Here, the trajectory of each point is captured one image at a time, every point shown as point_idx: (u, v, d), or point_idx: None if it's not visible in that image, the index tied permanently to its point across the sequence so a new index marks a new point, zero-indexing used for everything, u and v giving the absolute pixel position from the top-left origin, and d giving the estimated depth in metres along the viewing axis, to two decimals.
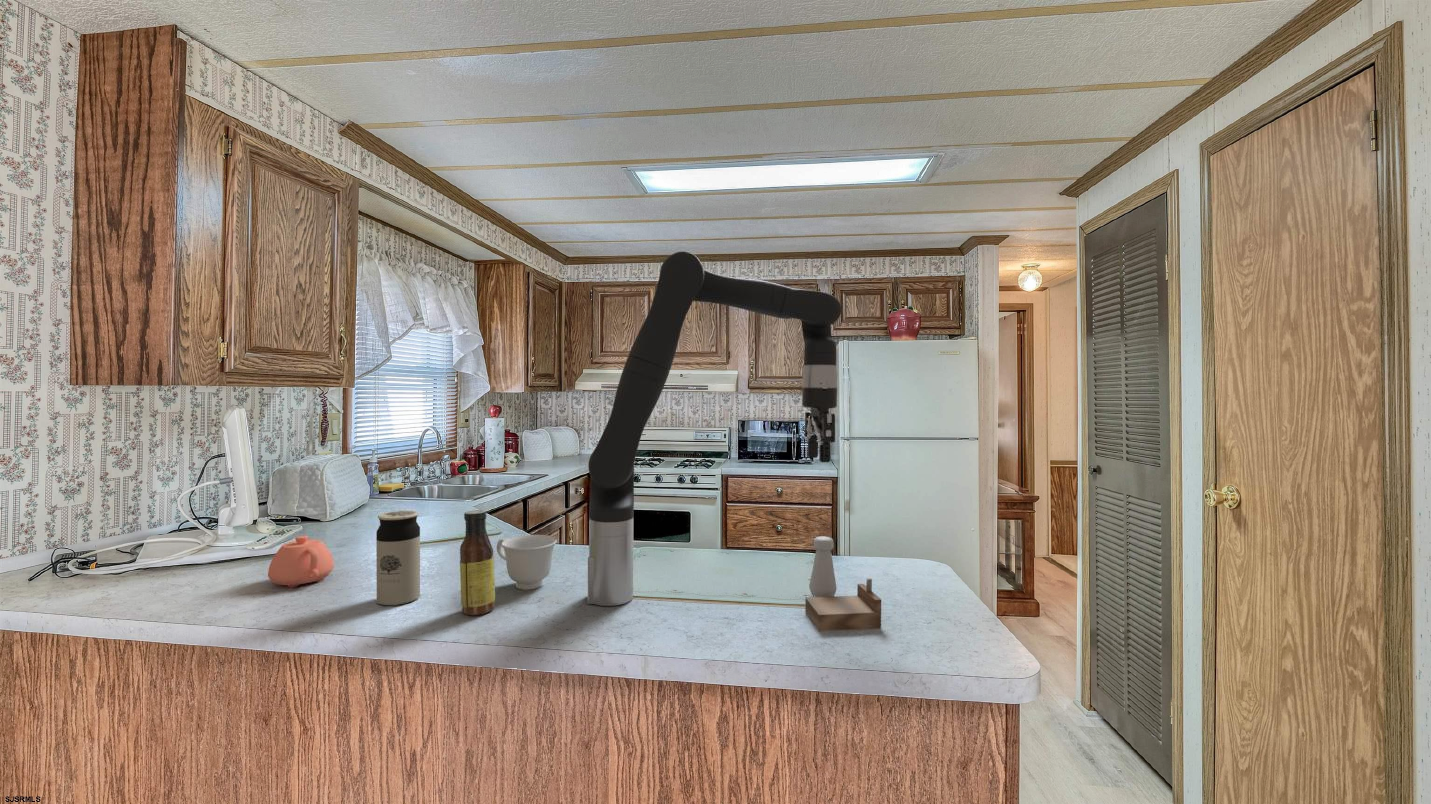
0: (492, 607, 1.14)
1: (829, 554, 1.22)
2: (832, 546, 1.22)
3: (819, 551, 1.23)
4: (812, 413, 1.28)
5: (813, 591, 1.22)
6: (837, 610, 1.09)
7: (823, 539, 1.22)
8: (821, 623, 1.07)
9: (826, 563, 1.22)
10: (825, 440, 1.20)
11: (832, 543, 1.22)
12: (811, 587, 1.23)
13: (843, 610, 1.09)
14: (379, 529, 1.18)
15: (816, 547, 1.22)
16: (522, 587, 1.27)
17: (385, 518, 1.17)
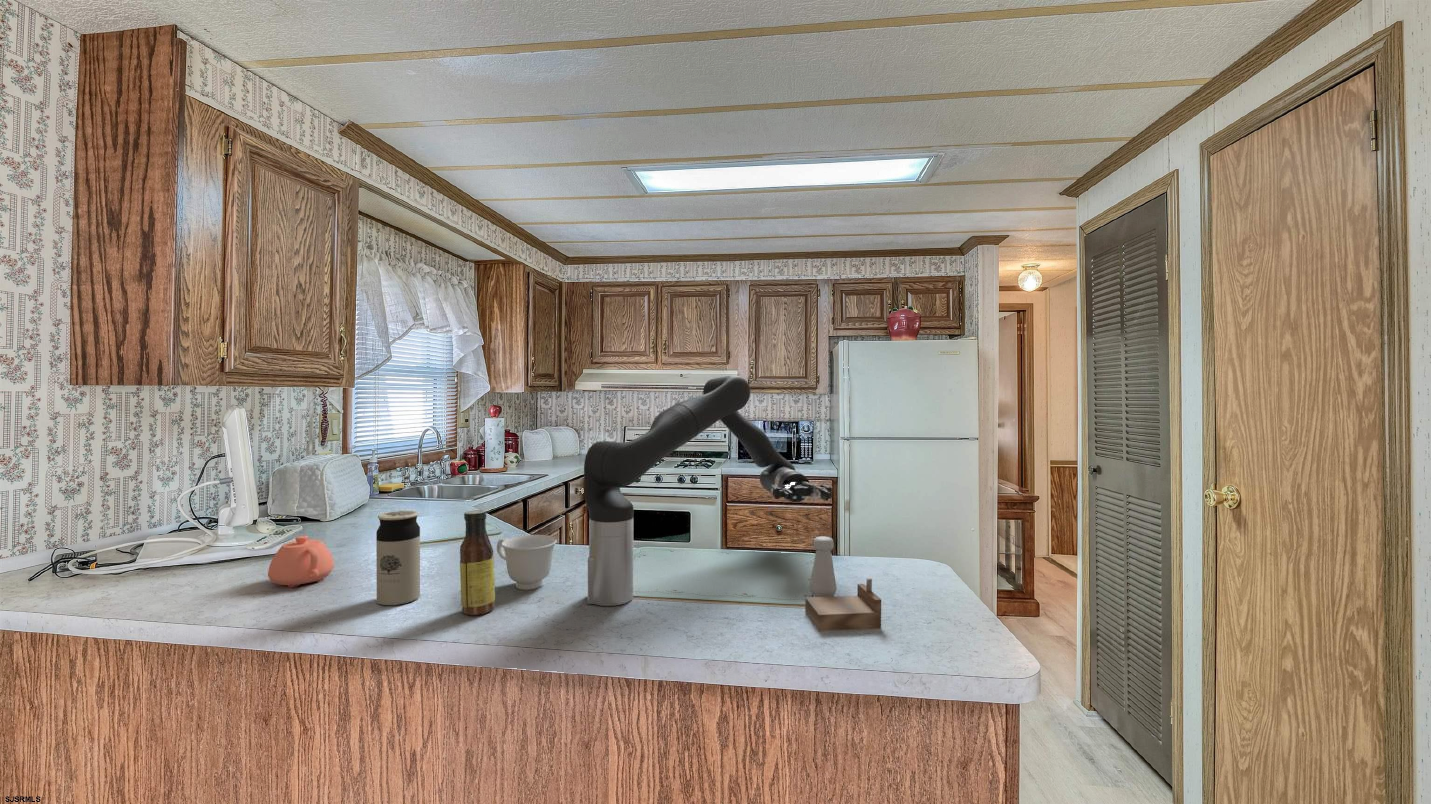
0: (492, 607, 1.14)
1: (829, 554, 1.22)
2: (832, 546, 1.22)
3: (819, 551, 1.23)
4: None
5: (813, 591, 1.22)
6: (837, 610, 1.09)
7: (823, 539, 1.22)
8: (821, 623, 1.07)
9: (826, 563, 1.22)
10: None
11: (832, 543, 1.22)
12: (811, 587, 1.23)
13: (843, 610, 1.09)
14: (379, 529, 1.18)
15: (816, 547, 1.22)
16: (522, 587, 1.27)
17: (385, 518, 1.17)
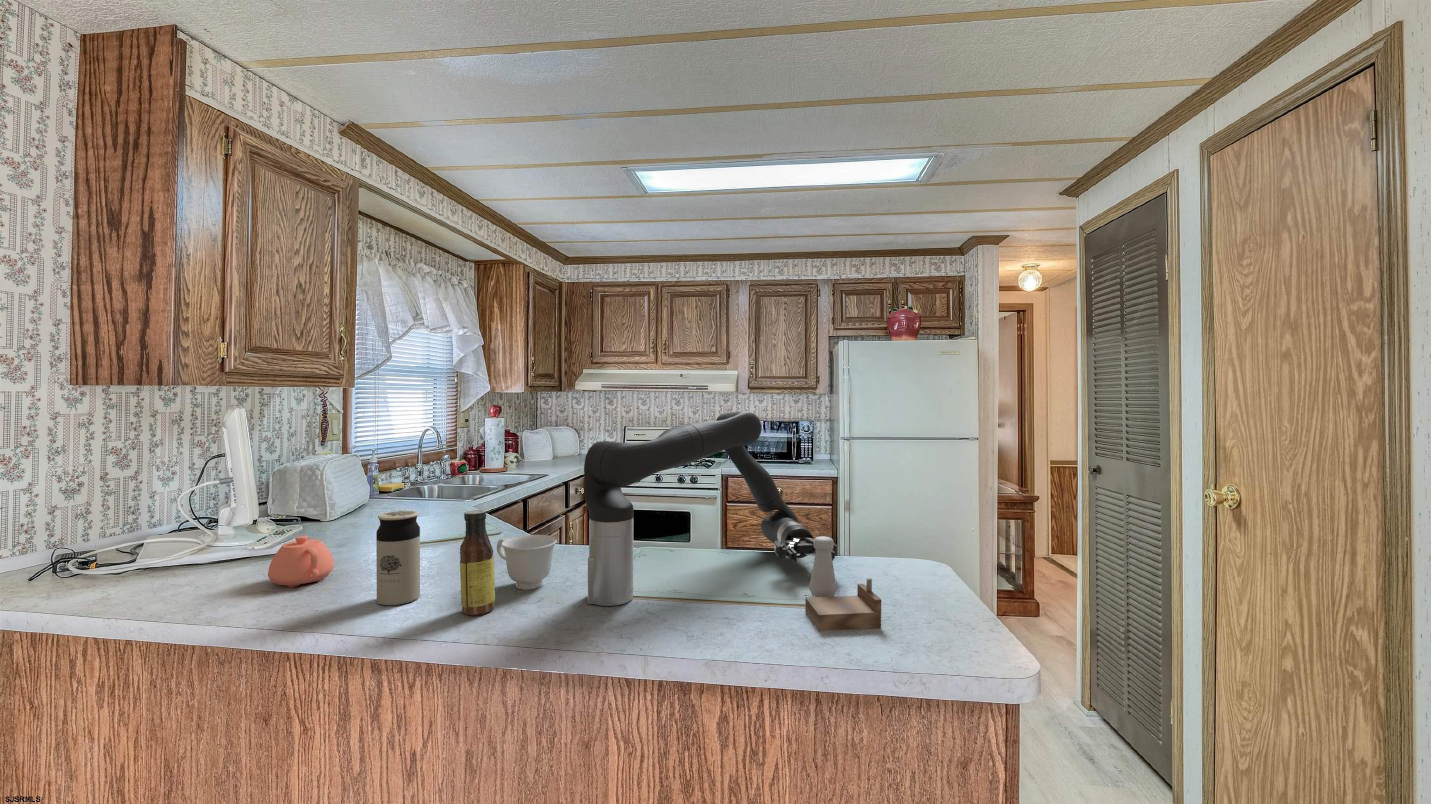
0: (492, 607, 1.14)
1: (829, 554, 1.22)
2: (832, 546, 1.22)
3: (819, 551, 1.23)
4: None
5: (813, 591, 1.22)
6: (837, 610, 1.09)
7: (823, 539, 1.22)
8: (821, 623, 1.07)
9: (826, 563, 1.22)
10: (836, 546, 1.36)
11: (832, 543, 1.22)
12: (811, 587, 1.23)
13: (843, 610, 1.09)
14: (379, 529, 1.18)
15: (816, 547, 1.22)
16: (522, 587, 1.27)
17: (385, 518, 1.17)
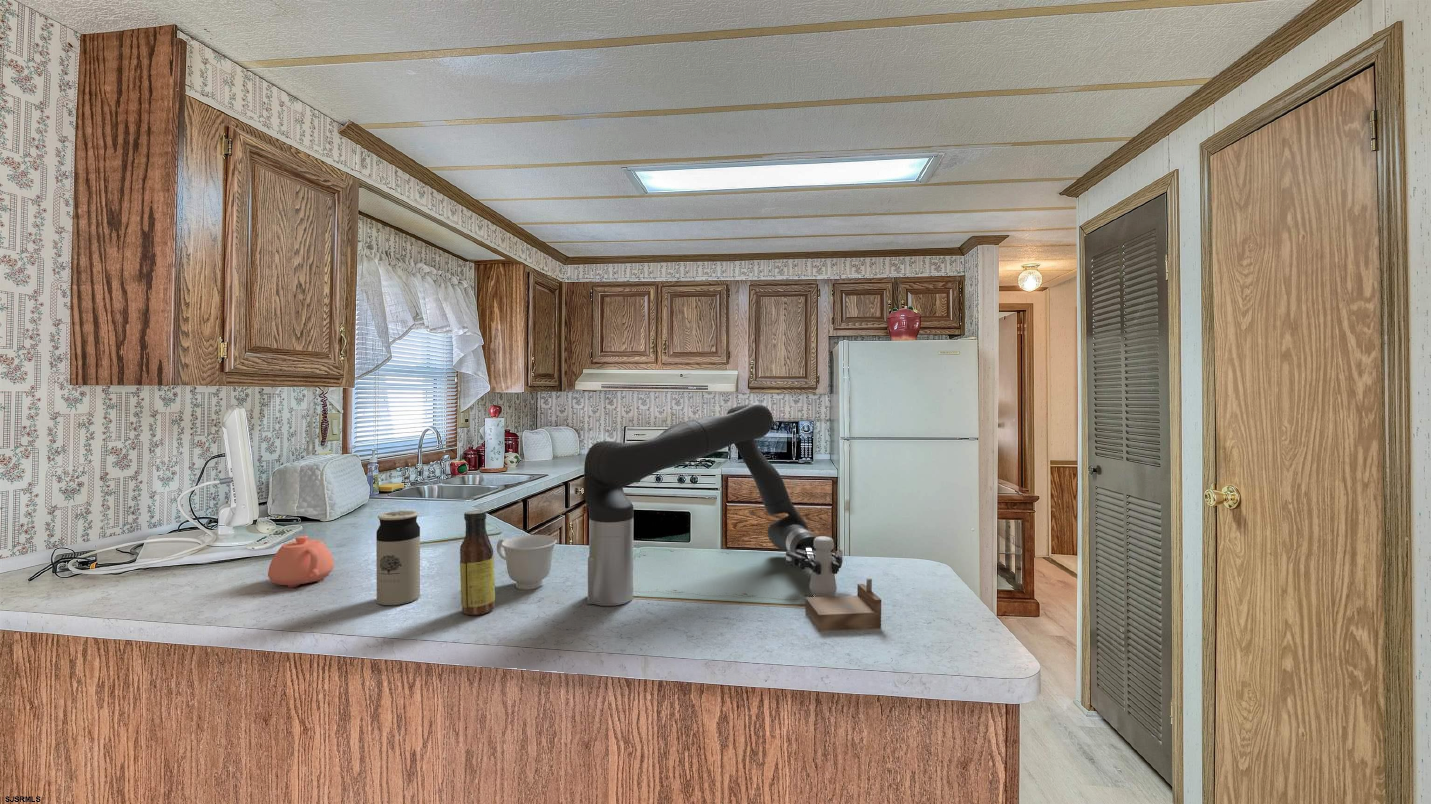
0: (492, 607, 1.14)
1: (829, 554, 1.22)
2: (832, 546, 1.22)
3: (819, 551, 1.23)
4: (805, 549, 1.32)
5: (813, 591, 1.22)
6: (837, 610, 1.09)
7: (823, 539, 1.22)
8: (821, 623, 1.07)
9: (826, 563, 1.22)
10: (840, 558, 1.26)
11: (832, 543, 1.22)
12: (811, 587, 1.23)
13: (843, 610, 1.09)
14: (379, 529, 1.18)
15: (816, 547, 1.22)
16: (522, 587, 1.27)
17: (385, 518, 1.17)
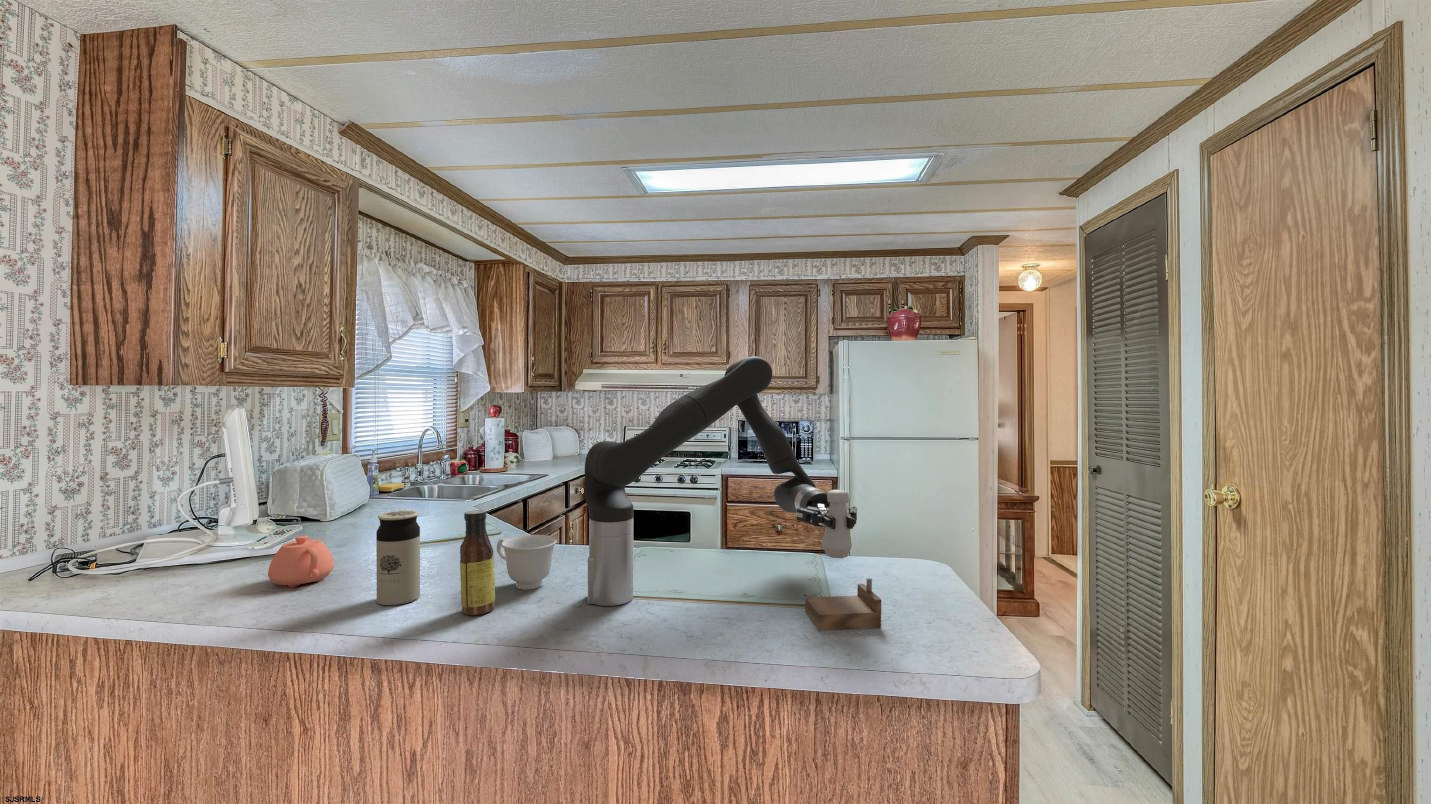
0: (492, 607, 1.14)
1: (844, 508, 1.14)
2: (847, 499, 1.14)
3: (833, 505, 1.14)
4: (817, 506, 1.23)
5: (827, 547, 1.14)
6: (837, 610, 1.09)
7: (838, 492, 1.14)
8: (821, 623, 1.07)
9: (840, 517, 1.13)
10: (855, 514, 1.17)
11: (847, 496, 1.14)
12: (824, 543, 1.14)
13: (843, 610, 1.09)
14: (379, 529, 1.18)
15: (830, 500, 1.14)
16: (522, 587, 1.27)
17: (385, 518, 1.17)
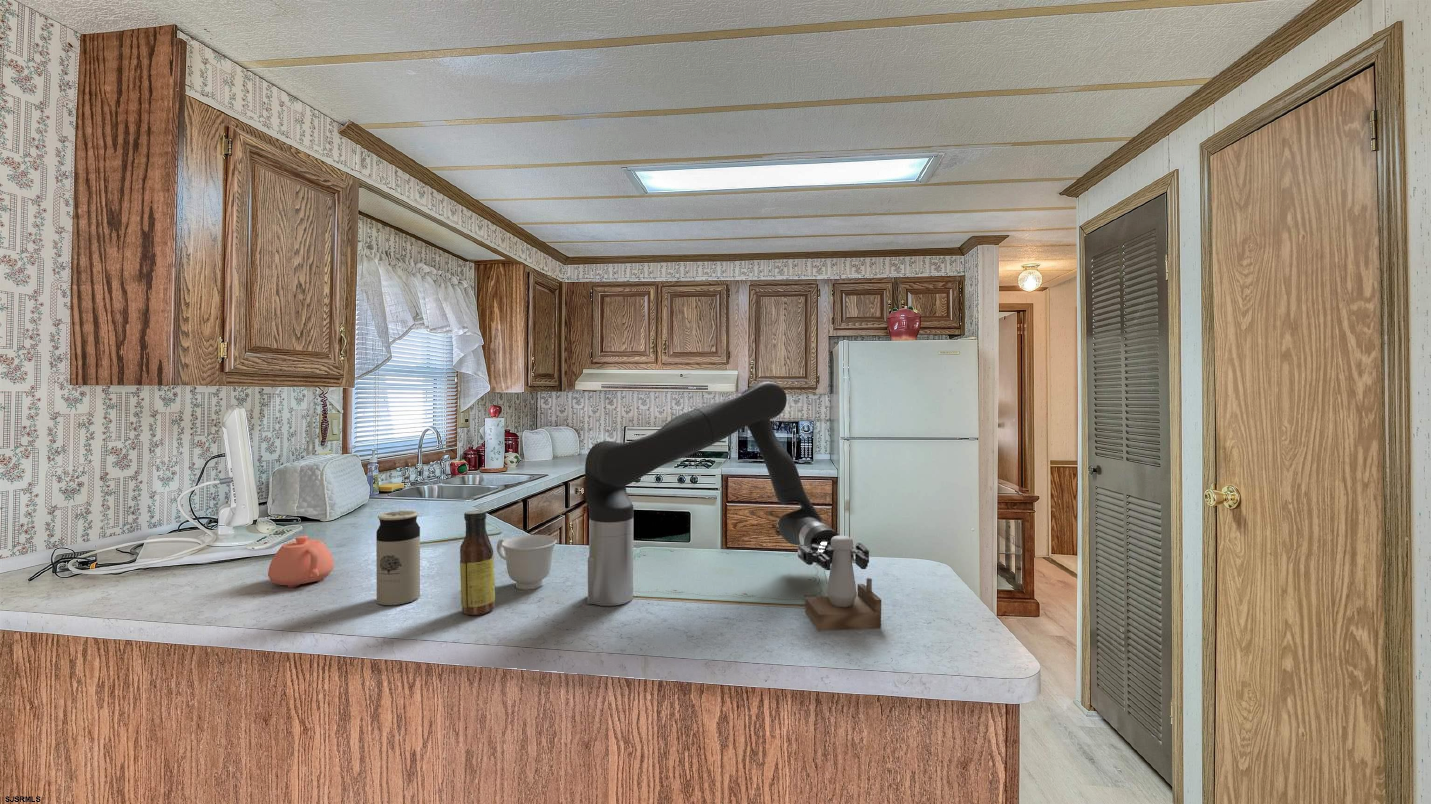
0: (492, 607, 1.14)
1: (848, 555, 1.11)
2: (851, 546, 1.11)
3: (837, 551, 1.11)
4: None
5: (831, 596, 1.10)
6: (837, 610, 1.09)
7: (841, 538, 1.11)
8: (821, 623, 1.07)
9: (845, 565, 1.10)
10: None
11: (851, 542, 1.11)
12: (829, 592, 1.11)
13: (843, 610, 1.09)
14: (379, 529, 1.18)
15: (834, 547, 1.11)
16: (522, 587, 1.27)
17: (385, 518, 1.17)
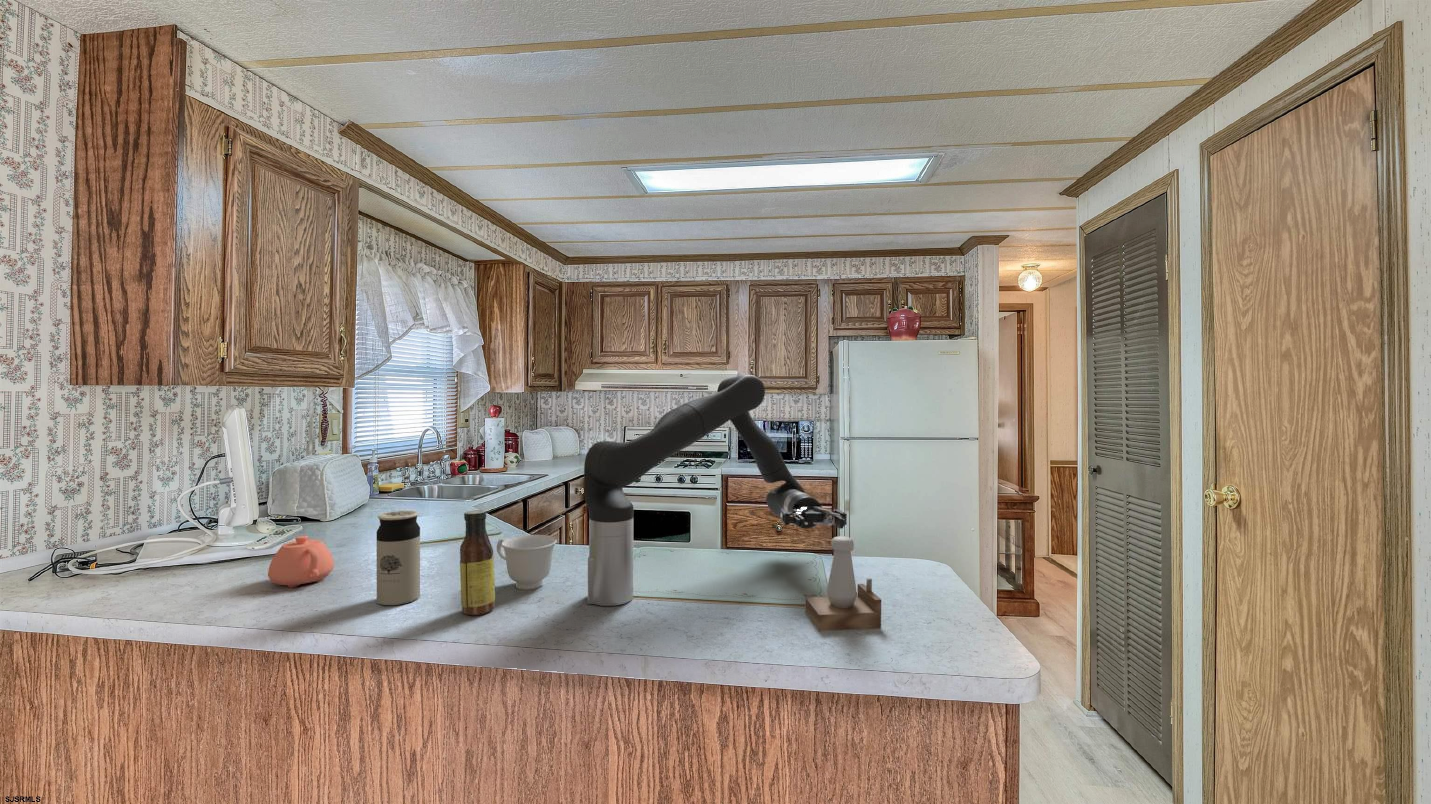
0: (492, 607, 1.14)
1: (849, 556, 1.11)
2: (852, 547, 1.10)
3: (838, 553, 1.11)
4: None
5: (831, 597, 1.10)
6: (837, 610, 1.09)
7: (842, 539, 1.10)
8: (821, 623, 1.07)
9: (845, 566, 1.10)
10: (846, 515, 1.29)
11: (852, 544, 1.10)
12: (829, 592, 1.11)
13: (843, 610, 1.09)
14: (379, 529, 1.18)
15: (834, 548, 1.11)
16: (522, 587, 1.27)
17: (385, 518, 1.17)
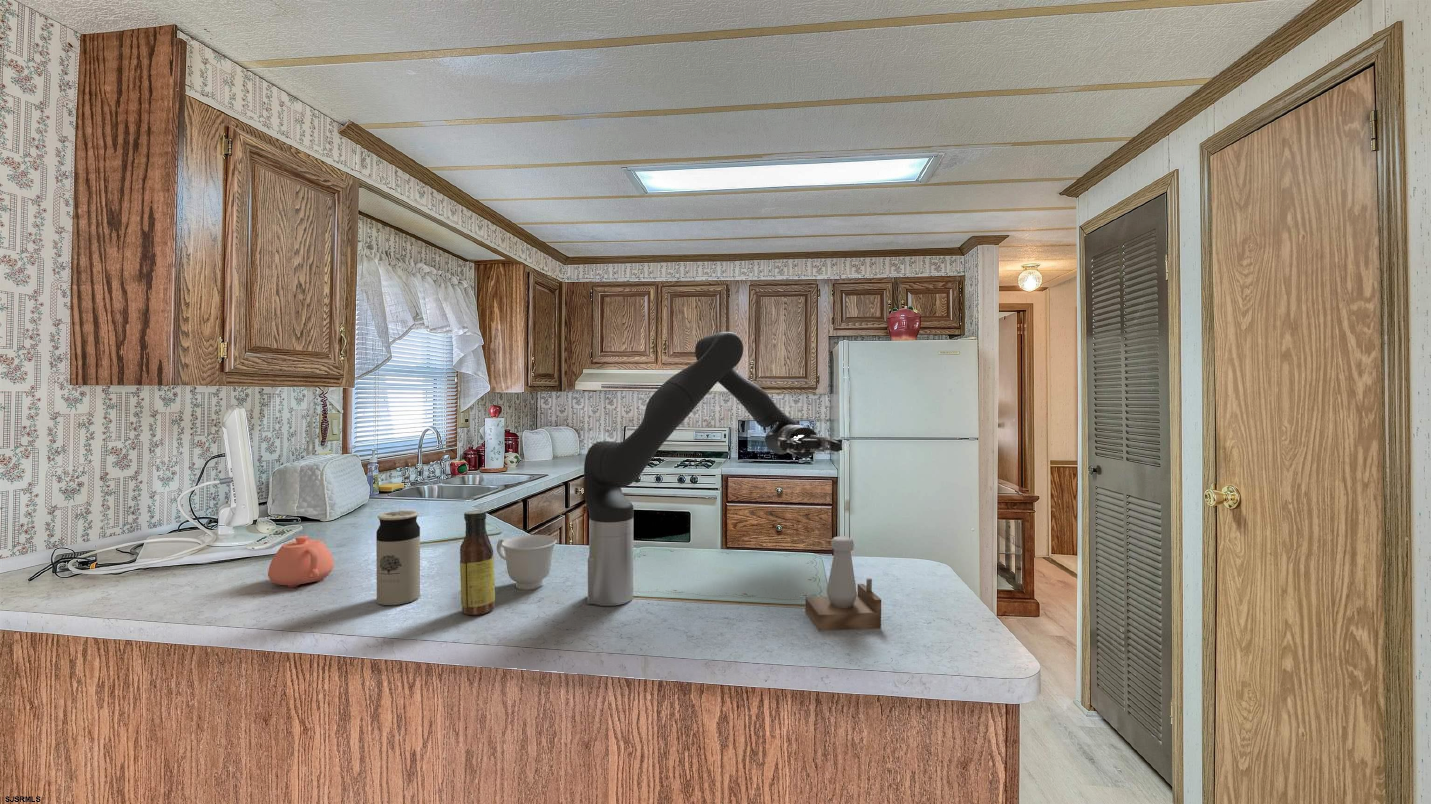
0: (492, 607, 1.14)
1: (849, 556, 1.11)
2: (852, 547, 1.10)
3: (838, 553, 1.11)
4: None
5: (831, 597, 1.10)
6: (837, 610, 1.09)
7: (842, 539, 1.10)
8: (821, 623, 1.07)
9: (845, 566, 1.10)
10: None
11: (852, 544, 1.10)
12: (829, 592, 1.11)
13: (843, 610, 1.09)
14: (379, 529, 1.18)
15: (834, 548, 1.11)
16: (522, 587, 1.27)
17: (385, 518, 1.17)
